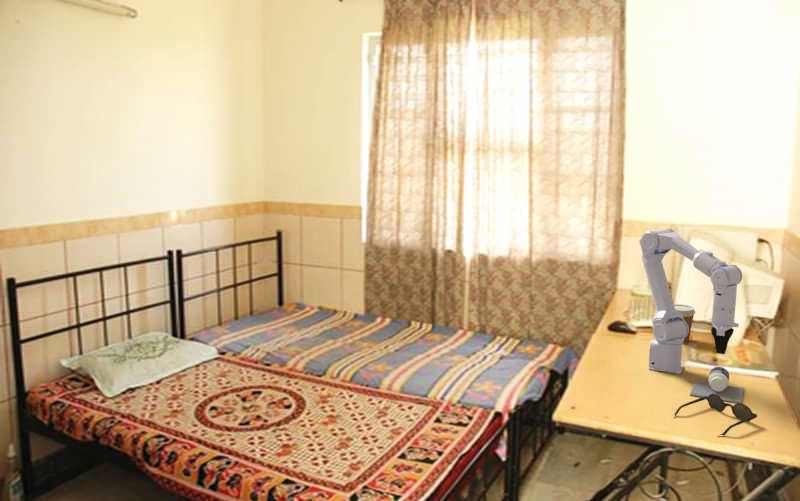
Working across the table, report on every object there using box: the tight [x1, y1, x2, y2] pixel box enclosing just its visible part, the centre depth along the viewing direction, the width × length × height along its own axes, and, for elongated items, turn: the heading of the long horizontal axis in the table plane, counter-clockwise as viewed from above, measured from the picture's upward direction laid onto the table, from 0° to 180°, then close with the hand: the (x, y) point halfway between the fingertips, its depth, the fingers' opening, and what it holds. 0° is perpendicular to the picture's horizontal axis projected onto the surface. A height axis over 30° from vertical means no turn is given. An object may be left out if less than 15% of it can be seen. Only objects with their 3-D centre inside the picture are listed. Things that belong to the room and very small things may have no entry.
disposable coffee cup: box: [667, 303, 696, 344], centre depth 236 cm, size 10×10×12 cm
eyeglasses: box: [674, 394, 758, 436], centre depth 171 cm, size 15×15×5 cm
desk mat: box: [689, 379, 745, 404], centre depth 190 cm, size 13×12×1 cm
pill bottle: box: [707, 366, 730, 392], centre depth 191 cm, size 5×5×9 cm
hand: (720, 353), depth 192 cm, fingers closed
